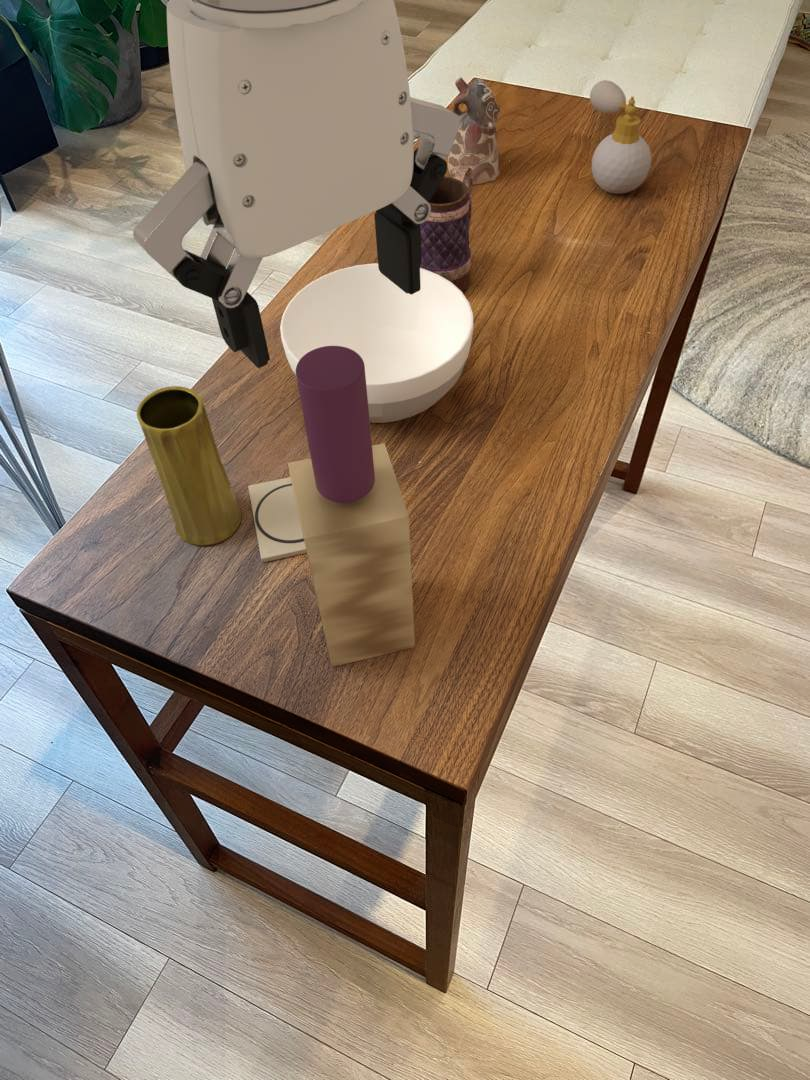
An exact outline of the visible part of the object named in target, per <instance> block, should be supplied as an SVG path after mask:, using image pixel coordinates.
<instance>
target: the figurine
mask: <svg viewBox="0 0 810 1080" xmlns="http://www.w3.org/2000/svg"><path fill="white" fill-rule="evenodd" d="M454 85H455V87H456V88H457V90H458V92H459V94H458V95H457V96H456V98H455V99H454V102H453V104H452V105H453V106H452V112H453V113H455V114H457V115H458V116H459V117H460V126H459V129H458V132H457V135H456V138H455V141H454V143H453V146H452V149H451V152H450V155H449V156H447V171H448V174H449V177H451V173H452V171H453V169H454V167H455V166H456V164H467V165H468V166H469V167H470V168H471V169H472V174H473V186H474V185H475V186H476V185H481V184H485V183H489V182H493V181H496V180H497V178H498V176H500V174H501V170H500V151H499V146H498V134H497V128H496V125H497V122H498V120H497V119H498V118H499V113H500V112H501V109H500V107H499V105H498V104H497V103H496V100H495V94H494V91H493V89H491V87H490V85H489V84H488V83H487V82H486V81H485V80H483V79H482V78H475V79H474V80H472V82H471V84H470V85H469V84H467V82H466V81H465V80H464V79H463V77H458V78H457V79H456V80H455V82H454ZM463 104H464V105H465V106H466V108H467V109H466V110H465V111H462V110H461V109H460V108H459V107H460V105H463Z"/></svg>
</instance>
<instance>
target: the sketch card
mask: <svg viewBox="0 0 810 1080" xmlns="http://www.w3.org/2000/svg"><path fill="white" fill-rule="evenodd" d="M247 489H248V493H249V499H250V505H251V511H252V515H253V521H254V527H255V533H256V538H257V544H258V549H259V555H260V560H261V563H266V562H271V561H272V562H273V561H276V560H280V559H281V560H282V559H286V558H290V557H294V556H299V555H304V554H307V552H306V547H305V543H304V538H303V533H302V529H301V524H300V519H299V514H298V510H297V505H296V500H295V496H294V491H293V486H292V482H291V477H290V476H289V477H284V478H279V479H273V480H270V481H265V482H259V483H255V484H250V485H248V486H247Z"/></svg>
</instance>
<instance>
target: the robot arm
mask: <svg viewBox="0 0 810 1080" xmlns="http://www.w3.org/2000/svg"><path fill="white" fill-rule="evenodd" d="M166 29H167V30H166V31H167V45H168V48H167V49H168V59H169V60H168V61H169V71H170V80H171V87H172V88H171V89H172V97H173V104H174V110H175V119H176V124H177V129H178V137H179V142H180V147H181V153H182V157H183V158H182V159H183V163H184V170H185V172H184V173H183V174H182V176H181V177H180V178H179V179H178V180H177V181H176V182H175V184H173V186H171V188H170V189H169V190H167V192H166V193H165V194H164V196H162V197H161V199H160V200H158V201H157V203H155V205H154V206H153V207H152V209H150V211H148V212H147V214H146V215H144V217H143V218H142V219H141V221H139V222H138V224H137V225H136V226H135V228H134V229H133V233H132V236H133V240H134V241H135V242H136V243H137V244H138V245H139V246H140V247H141V249H143V250H144V251H145V253H147V255H148V256H149V257H151V258H152V259H153V261H155V262H156V263H157V264H158V265H160V266H161V268H163V269H164V270H165V271H166V272H167V273H168V274H169V275H171V276H172V278H174V279H175V280H176V282H178V283H179V284H180V285H181V286H182V287H184V288H186V289H188V290H191V291H193V292H196V293H198V294H200V295H203V296H206V297H208V298H210V299H211V301H212V305H213V309H214V312H215V316H216V320H217V323H218V328H219V331H220V334H221V337H222V339H223V341H224V342H225V344H226V346H227V347H228V348H229V349H230V350H231V351H232V352H233V353H237V352H240V351H241V352H242V353H243V355H244V356H245V357H246V358H247V359H248V360H249V361H250V362H251V363H252V364H253V365H254V366H255V367H256V368H257V369H261V368H262V367H265V366H267V365H268V364H269V361H270V360H271V359H270V352H269V349H268V343H267V339H266V334H265V330H264V326H263V321H262V320H263V319H262V316H261V312H260V307H259V303H258V301H257V300H256V299H255V298H254V297H253V295H251V294H250V293H249V292H248V291H249V288H250V286H251V284H252V282H253V280H254V277H255V275H256V274H257V271H258V269H259V267H260V264H261V263H262V260H263V258H266V257H271V256H273V255H276V254H280V253H281V252H285V251H286V250H289V249H291V248H294V247H296V246H298V245H301V244H303V243H306V242H308V241H310V240H313V239H315V238H317V237H319V236H322V235H324V234H326V233H329V232H331V231H332V230H335V229H339V228H340V227H342V226H345V225H347V224H349V223H351V222H354V221H356V220H359V219H361V218H363V217H366V216H368V215H370V214H372V213H373V216H374V227H375V228H374V229H375V242H376V255H377V263H378V268H379V271H380V272H381V273H382V274H383V275H384V276H385V277H387V278H388V279H389V280H390V281H392V282H393V283H394V284H395V285H397V286H398V287H399V288H400V289H402V290H403V291H404V292H405V293H407V294H408V293H409V294H411V295H412V294H414V293H416V292H418V291H420V288H421V286H420V265H421V261H422V259H421V225H420V224H422V223H424V222H425V221H426V220H427V219H428V217H429V215H430V212H431V206H430V204H429V203H428V202H429V201H430V199H431V197H432V196H433V194H434V193H435V191H436V189H437V188H438V186H439V184H440V183H441V181H442V179H443V178H444V176H445V177H446V174H447V171H448V162H447V161H446V160H447V158H448V156H449V155H450V152H451V149H452V146H453V143H454V141H455V138H456V135H457V132H458V129H459V126H460V117H459V116H458V115H457V114H455V113H453V110H451V109H448V108H446V107H445V106H443V105H441V104H437V103H434V102H430V101H426V100H422V99H419V98H415V97H412V96H411V94H410V83H409V76H408V67H407V61H406V55H405V49H404V43H403V38H402V32H401V26H400V22H399V17H398V14H397V8H396V5H395V1H394V0H168V1H167V3H166ZM414 132H415V133H418V134H419V133H420V135H419V140H418V147H417V148H415V149H414V147H415V145H414V144H415V143H414ZM199 220H201V222H203V223H204V225H205V226H210V225H212V226H213V227H212V229H211V232H210V235H209V236H208V238H207V241H206V243H205V244H204V247H203V250H202V252H201V255H197V254H195V253H192V252H190V251H188V250H186V249H184V247H183V244H182V243H183V239H184V238H185V235H187V234H188V232H189V231H190V230H191V229H192V228H193V227H194V226H195V225H196V224H197V222H199Z"/></svg>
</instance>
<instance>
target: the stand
mask: <svg viewBox="0 0 810 1080" xmlns="http://www.w3.org/2000/svg"><path fill="white" fill-rule="evenodd" d="M372 451H373V462H374V472H375V483H374V486H373V488H372V489H371V491H370V492H369V493H368V494H367V495H366V496H364V497H363V498H361V499H359V500H357V501H353V502H348V503H338V502H333V501H330V500H328V499H326V498H325V497H323V496H322V495H321V494H320V493H319V492H318V490H317V488H316V483H315V478H314V472H313V467H312V461H311V457H310V458H305V459H301V460H295V461H291V462H287V468H288V472H289V477H291V482H292V486H293V491H294V496H295V500H296V505H297V510H298V514H299V519H300V524H301V529H302V533H303V538H304V543H305V547H306V552H307V553H306V556H307V561H308V566H309V571H310V575H311V579H312V584H313V585H312V586H313V588H314V594H315V598H316V603H317V608H318V612H319V616H320V621H321V625H322V630H323V634H324V639H325V643H326V648H327V652H328V657H329V660H330V665H331V667H332V668H335V667H338V666H342V665H347V664H351V663H354V662H359V661H363V660H367V659H371V658H376V657H381V656H384V655H389V654H393V653H398V652H401V651H402V652H403V651H405V650H409V649H414V648H416V639H415V637H416V636H415V634H416V633H415V616H414V615H415V614H414V599H413V598H414V595H413V594H414V593H413V574H412V555H411V553H412V552H411V534H410V533H411V532H410V515H409V512H408V509H407V506H406V504H405V500H404V498H403V494H402V491H401V488H400V485H399V481H398V479H397V476H396V473H395V470H394V467H393V463H392V461H391V458H390V455H389V452H388V449H387V445H386V443H385V442H384V443H379V444H374V445H373V444H372Z"/></svg>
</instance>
